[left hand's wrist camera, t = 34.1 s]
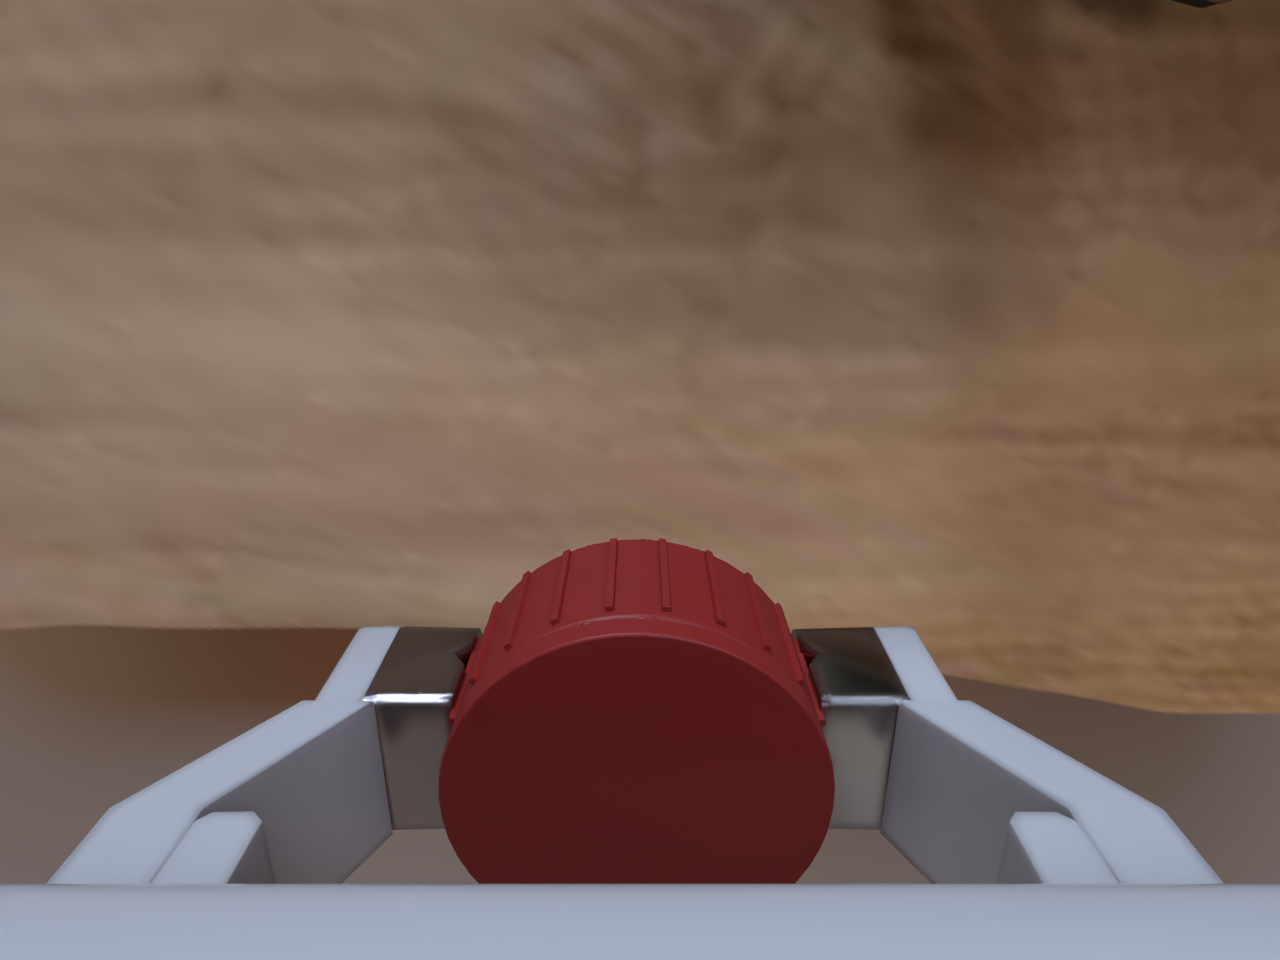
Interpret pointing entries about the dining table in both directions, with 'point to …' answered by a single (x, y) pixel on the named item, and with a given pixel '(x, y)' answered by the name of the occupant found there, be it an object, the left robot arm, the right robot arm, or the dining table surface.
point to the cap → (636, 729)
